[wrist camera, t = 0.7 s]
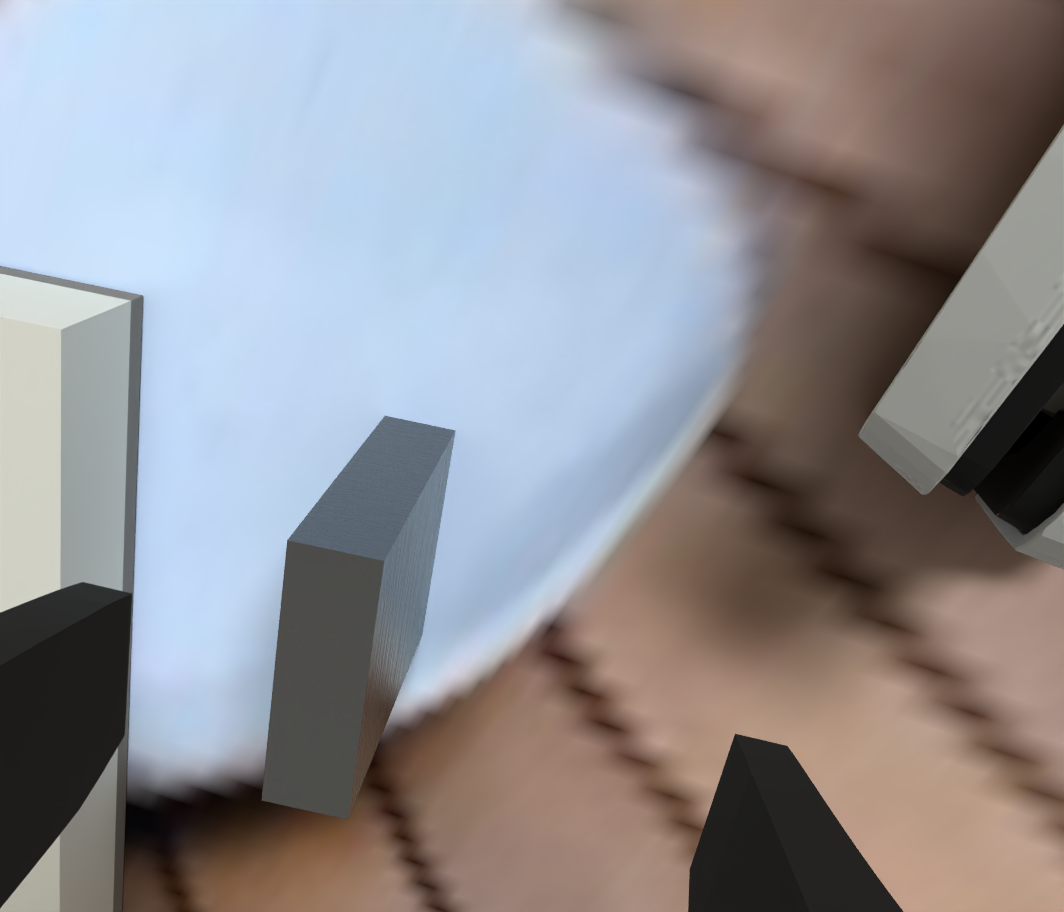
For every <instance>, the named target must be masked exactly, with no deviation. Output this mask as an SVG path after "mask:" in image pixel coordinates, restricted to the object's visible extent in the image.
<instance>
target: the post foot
mask: <svg viewBox="0 0 1064 912" xmlns="http://www.w3.org/2000/svg"><path fill="white" fill-rule="evenodd" d="M142 313H143V296H142V295H137V294H132V293H127V292H123V291H118V290H113V289H108V288H103V287H98V286H94V285H89V284H84V283H79V282H74V281H70V280H65V279H60V278H55V277H50V276H45V275H41V274H36V273H31V272H26V271H21V270H16V269H12V268H7V267H2V266H0V612H3V611H5V610H8V609H10V608H13V607H15V606H18V605H20V604H23V603H25V602H28V601H31V600H33V599H36V598H38V597H41V596H43V595H46V594H49V593H51V592H54V591H57V590H60V589H62V588H65V587H68V586H71V585H75V584H78V583H81V582H85V583H90V584H94V585H98V586H102V587H107V588H111V589H115V590H120V591H124V592H128V593H132V606H133V577H134V547H135V518H136V489H137V460H138V430H139V401H140V372H141V342H142ZM131 635H132V609H131V628H130V647H129V666H128V685H127V704H126V723H125V736H124V737H123V739H122V741H121V742H120V744H119V746H118V748H117V749H116V751H115V753H114V754H113V756H112V758H111V759H110V761H109V763H108V764H107V766H106V768H105V770H104V771H103V773H102V775H101V776H100V778H99V779H98V781H97V783H96V784H95V786H94V787H93V789H92V790H91V792H90V794H89V795H88V797H87V798H86V800H85V802H84V803H83V805H82V806H81V808H80V809H79V811H78V812H77V813H76V815H75V816H74V817H73V818H72V820H71V821H70V822H69V824H68V825H67V826H66V827H65V829H64V830H63V831H62V832H61V834H60V835H59V836H58V838H57V839H56V840H55V841H54V843H53V844H52V845H51V846H50V848H49V849H48V850H47V851H46V853H45V854H44V855H43V856H42V858H41V859H40V860H39V861H38V863H37V864H36V865H35V866H34V868H33V869H32V870H31V871H30V873H29V874H28V875H27V876H26V878H25V879H24V880H23V881H22V882H21V884H20V885H19V886H18V887H17V889H16V890H15V891H14V892H13V894H12V895H11V896H10V897H9V899H8V900H7V901H6V902H5V903H4V905H3V906H2V907H1V908H0V912H122V899H123V870H124V840H125V811H126V782H127V752H128V723H129V694H130V665H131Z"/></svg>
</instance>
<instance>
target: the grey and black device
mask: <svg viewBox="0 0 1064 912" xmlns="http://www.w3.org/2000/svg"><path fill="white" fill-rule="evenodd" d="M858 437H860V438H861V439H862V440H863V441H864V442H865V443H866V444H867V445H868V446H869V447H870V448H872V449H873V450H874V451H875V452H876V453H877V454H878V455H879V456H880V457H881V458H882V459H884V460H885V461H886V462H887V463H888V464H889V465H890V466H891V467H892V468H893V469H894V470H896V471H897V472H898V473H899V474H900V475H901V476H902V477H903V478H904V479H905V480H906V481H908V482H909V483H910V484H911V485H912V486H913V487H914V488H915V489H916V490H917V491H918V492H920V493H921V494H922V495H926V494H928V493H929V492H930V491H931V490H932V489H933V488H934V487H935V486H936V485H937V484H938V483H939V482H940V483H941V484H943V485H945V486H946V487H948V488H950V489H951V490H953V491H955V492H956V493H958V494H960V495H961V496H965V495H966V494H968V493H969V492H970V491H971V490H973V489H974V490H975V491H976V492H977V495H976V496H975V497H974V498H975V499H976V501H977V502H978V503H979V505H980V506H981V507H982V509H983V510H984V512H985V513H986V514H987V516H988V517H989V518H990V520H991V521H992V522H993V524H994V525H995V526H996V528H997V529H998V530H999V532H1000V533H1001V534H1002V535H1003V536H1004V538H1005V539H1006V540H1007V541H1008V542H1009V543H1010V544H1011V546H1012V547H1013V548H1014V549H1015V550H1016V551H1018V552H1021V553H1023V554H1026V555H1028V556H1031V557H1033V558H1036V559H1038V560H1041V561H1043V562H1046V563H1048V564H1051V565H1053V566H1056V567H1059V568H1061V569H1064V125H1063V126H1062V128H1061V129H1060V131H1059V132H1058V134H1057V135H1056V137H1055V138H1054V140H1053V141H1052V143H1051V144H1050V146H1049V147H1048V149H1047V150H1046V152H1045V153H1044V155H1043V156H1042V158H1041V159H1040V161H1039V162H1038V164H1037V165H1036V167H1035V168H1034V170H1033V171H1032V173H1031V174H1030V176H1029V177H1028V179H1027V180H1026V182H1025V183H1024V185H1023V186H1022V188H1021V189H1020V191H1019V192H1018V194H1017V195H1016V197H1015V198H1014V200H1013V201H1012V203H1011V204H1010V206H1009V207H1008V209H1007V210H1006V212H1005V213H1004V215H1003V216H1002V218H1001V219H1000V221H999V222H998V224H997V225H996V227H995V228H994V230H993V231H992V233H991V234H990V236H989V237H988V239H987V240H986V242H985V243H984V245H983V246H982V248H981V249H980V251H979V252H978V254H977V255H976V257H975V258H974V260H973V261H972V263H971V264H970V266H969V267H968V269H967V270H966V272H965V273H964V275H963V276H962V278H961V279H960V281H959V282H958V284H957V285H956V287H955V288H954V290H953V291H952V293H951V294H950V296H949V297H948V299H947V300H946V302H945V303H944V305H943V306H942V308H941V309H940V311H939V312H938V314H937V315H936V317H935V318H934V320H933V321H932V323H931V324H930V326H929V327H928V329H927V330H926V332H925V333H924V335H923V336H922V338H921V339H920V341H919V342H918V344H917V345H916V347H915V348H914V350H913V351H912V353H911V354H910V356H909V357H908V359H907V360H906V362H905V363H904V365H903V366H902V368H901V369H900V371H899V372H898V374H897V375H896V377H895V378H894V380H893V381H892V383H891V384H890V386H889V387H888V389H887V390H886V392H885V393H884V395H883V396H882V398H881V399H880V401H879V402H878V404H877V405H876V407H875V408H874V409H873V411H872V412H871V414H870V416H869V417H868V419H867V420H866V422H865V424H864V425H863V427H862V429H861V431H860V432H859V435H858Z"/></svg>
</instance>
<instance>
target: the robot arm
mask: <svg viewBox="0 0 1064 912" xmlns="http://www.w3.org/2000/svg"><path fill="white" fill-rule="evenodd" d="M131 609H132V593H128V592H124V591H120V590H115V589H111V588H107V587H102V586H98V585H94V584H90V583H85V582H81V583H78V584H75V585H71V586H68V587H65V588H62V589H60V590H57V591H54V592H51V593H49V594H46V595H43V596H41V597H38V598H36V599H33V600H31V601H28V602H25V603H23V604H20V605H18V606H15V607H13V608H10V609H8V610H5V611H3V612H0V908H1V907H2V906H3V905H4V903H5V902H6V901H7V900H8V899H9V897H10V896H11V895H12V894H13V892H14V891H15V890H16V889H17V887H18V886H19V885H20V884H21V882H22V881H23V880H24V879H25V878H26V876H27V875H28V874H29V873H30V871H31V870H32V869H33V868H34V866H35V865H36V864H37V863H38V861H39V860H40V859H41V858H42V856H43V855H44V854H45V853H46V851H47V850H48V849H49V848H50V846H51V845H52V844H53V843H54V841H55V840H56V839H57V838H58V836H59V835H60V834H61V832H62V831H63V830H64V829H65V827H66V826H67V825H68V824H69V822H70V821H71V820H72V818H73V817H74V816H75V815H76V813H77V812H78V811H79V809H80V808H81V806H82V805H83V803H84V802H85V800H86V798H87V797H88V795H89V794H90V792H91V790H92V789H93V787H94V786H95V784H96V783H97V781H98V779H99V778H100V776H101V775H102V773H103V771H104V770H105V768H106V766H107V764H108V763H109V761H110V759H111V758H112V756H113V754H114V753H115V751H116V749H117V748H118V746H119V744H120V742H121V741H122V739H123V737H124V736H125V723H126V704H127V685H128V666H129V647H130V628H131ZM688 912H903V911H902V909H901V908H900V907H899V905H898V904H897V903H896V901H895V900H894V899H893V897H892V896H891V895H890V893H889V892H888V891H887V889H886V888H885V887H884V885H883V884H882V883H881V881H880V880H879V878H878V877H877V876H876V874H875V873H874V872H873V870H872V869H871V867H870V866H869V865H868V863H867V862H866V860H865V859H864V858H863V856H862V855H861V853H860V852H859V850H858V849H857V848H856V846H855V845H854V843H853V842H852V840H851V839H850V838H849V836H848V835H847V833H846V832H845V830H844V829H843V827H842V826H841V824H840V823H839V821H838V820H837V818H836V817H835V816H834V814H833V813H832V811H831V810H830V808H829V807H828V805H827V804H826V802H825V801H824V799H823V798H822V796H821V795H820V793H819V792H818V790H817V789H816V787H815V786H814V784H813V783H812V781H811V780H810V778H809V777H808V775H807V774H806V772H805V771H804V769H803V768H802V766H801V765H800V763H799V762H798V760H797V759H796V757H795V756H794V755H793V753H792V752H791V750H790V749H789V748H788V746H785V745H781V744H776V743H772V742H768V741H763V740H759V739H755V738H751V737H746V736H742V735H738V734H735V736H734V739H733V742H732V745H731V748H730V751H729V754H728V757H727V760H726V763H725V766H724V769H723V772H722V775H721V778H720V781H719V784H718V787H717V790H716V793H715V796H714V799H713V802H712V805H711V808H710V811H709V814H708V817H707V820H706V823H705V826H704V829H703V832H702V835H701V838H700V841H699V843H698V846H697V849H696V852H695V855H694V858H693V861H692V864H691V867H690V879H689V908H688Z"/></svg>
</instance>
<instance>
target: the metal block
mask: <svg viewBox="0 0 1064 912" xmlns="http://www.w3.org/2000/svg"><path fill="white" fill-rule="evenodd" d="M454 436H455V430H450V429H445V428H440V427H436V426H431V425H426V424H421V423H417V422H412V421H407V420H402V419H398V418H393V417H388V416H385V417H384V418H383V419H382V420H381V422H380V423H379V424H378V425H377V427H376V428H375V429H374V431H373V432H372V433H371V434H370V436H369V437H368V438H367V440H366V441H365V442H364V443H363V445H362V446H361V447H360V448H359V450H358V451H357V452H356V454H355V455H354V456H353V457H352V459H351V460H350V461H349V462H348V464H347V465H346V466H345V468H344V469H343V470H342V471H341V473H340V474H339V475H338V476H337V478H336V479H335V480H334V482H333V483H332V484H331V485H330V487H329V488H328V489H327V490H326V492H325V493H324V494H323V496H322V497H321V498H320V499H319V501H318V502H317V503H316V505H315V506H314V507H313V508H312V510H311V511H310V512H309V513H308V515H307V516H306V517H305V519H304V520H303V521H302V522H301V524H300V525H299V526H298V527H297V529H296V530H295V531H294V533H293V534H292V535H291V536H290V538H289V539H288V540H287V550H286V560H285V570H284V580H283V590H282V600H281V610H280V620H279V631H278V641H277V651H276V661H275V671H274V681H273V691H272V701H271V711H270V721H269V732H268V742H267V752H266V762H265V772H264V782H263V792H262V801H267V802H271V803H276V804H280V805H285V806H289V807H294V808H298V809H303V810H307V811H311V812H316V813H320V814H325V815H329V816H334V817H338V818H343V819H347V820H348V818H349V815H350V813H351V810H352V808H353V805H354V803H355V800H356V798H357V795H358V793H359V790H360V788H361V785H362V783H363V780H364V778H365V775H366V773H367V770H368V768H369V765H370V763H371V760H372V758H373V755H374V753H375V750H376V748H377V745H378V743H379V740H380V738H381V736H382V733H383V731H384V728H385V726H386V723H387V721H388V718H389V716H390V713H391V711H392V708H393V706H394V703H395V701H396V698H397V696H398V693H399V691H400V688H401V686H402V683H403V681H404V678H405V676H406V673H407V671H408V668H409V666H410V663H411V661H412V658H413V656H414V653H415V651H416V648H417V646H418V644H419V641H420V639H421V636H422V632H423V626H424V620H425V614H426V608H427V601H428V595H429V589H430V583H431V577H432V571H433V565H434V559H435V552H436V546H437V540H438V534H439V528H440V522H441V516H442V509H443V503H444V497H445V491H446V485H447V479H448V473H449V466H450V460H451V454H452V448H453V442H454Z"/></svg>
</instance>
